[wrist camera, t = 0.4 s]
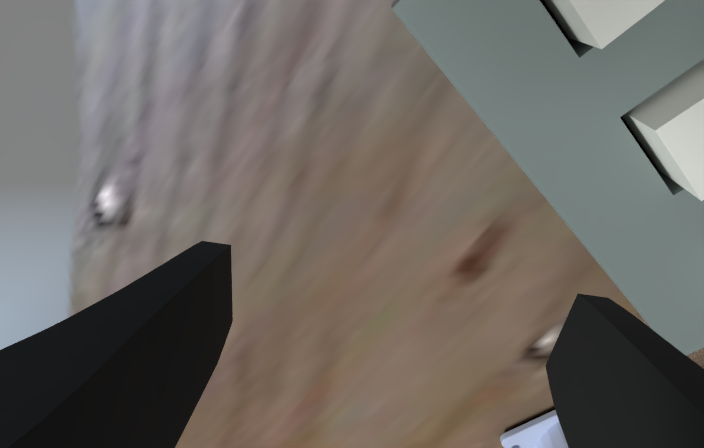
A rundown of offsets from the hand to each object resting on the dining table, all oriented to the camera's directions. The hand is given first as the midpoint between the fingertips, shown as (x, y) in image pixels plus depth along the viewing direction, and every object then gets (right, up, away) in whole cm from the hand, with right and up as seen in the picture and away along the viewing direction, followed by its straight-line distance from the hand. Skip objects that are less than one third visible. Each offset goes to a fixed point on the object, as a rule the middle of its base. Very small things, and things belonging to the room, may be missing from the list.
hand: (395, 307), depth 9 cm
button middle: (+10, +6, +5) cm, 13 cm away
